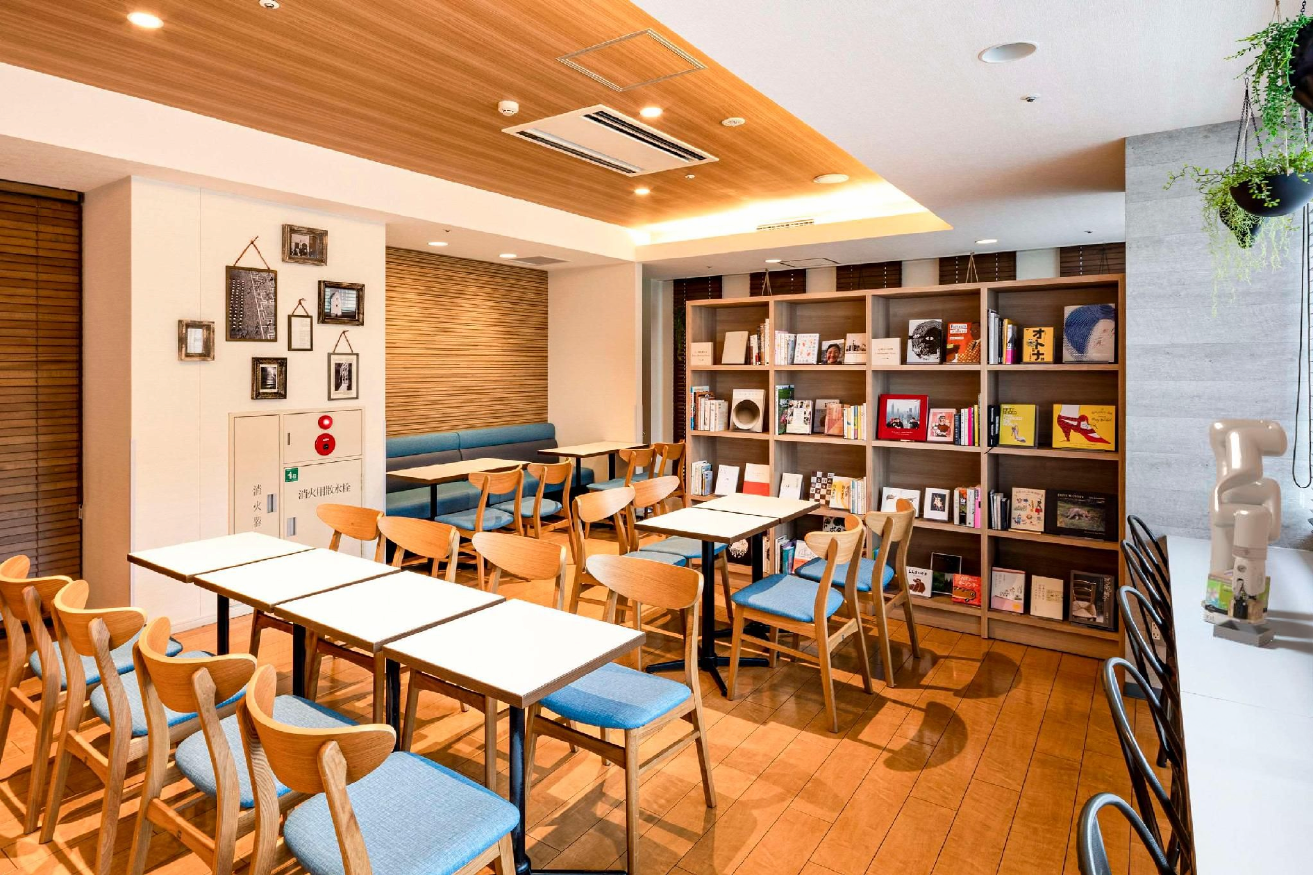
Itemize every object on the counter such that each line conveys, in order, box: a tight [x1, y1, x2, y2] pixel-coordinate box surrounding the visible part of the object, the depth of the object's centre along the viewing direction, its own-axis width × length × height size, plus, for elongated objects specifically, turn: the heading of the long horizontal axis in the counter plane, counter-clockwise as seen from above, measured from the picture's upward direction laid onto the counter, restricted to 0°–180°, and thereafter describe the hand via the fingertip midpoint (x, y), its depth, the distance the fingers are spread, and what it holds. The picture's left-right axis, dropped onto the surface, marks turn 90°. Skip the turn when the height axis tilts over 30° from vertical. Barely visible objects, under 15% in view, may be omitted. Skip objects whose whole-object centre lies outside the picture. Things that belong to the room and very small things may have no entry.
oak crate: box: [1228, 598, 1263, 623], centre depth 212 cm, size 6×6×5 cm
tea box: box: [1203, 569, 1271, 626], centre depth 226 cm, size 15×10×15 cm
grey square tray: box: [1212, 619, 1275, 648], centre depth 213 cm, size 11×11×3 cm
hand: (1244, 615), depth 212 cm, fingers closed on oak crate, 6 cm apart
